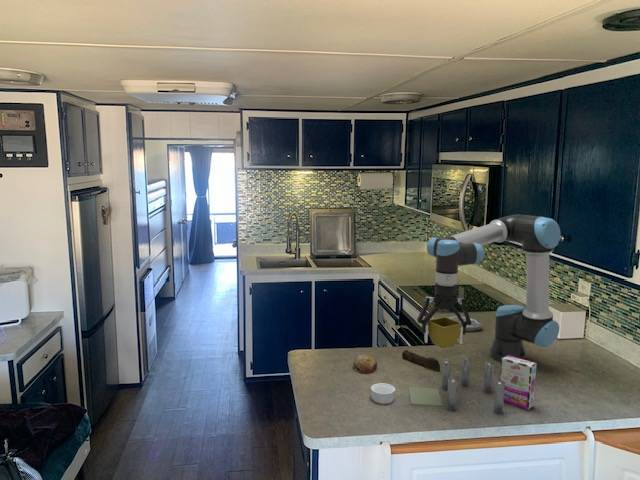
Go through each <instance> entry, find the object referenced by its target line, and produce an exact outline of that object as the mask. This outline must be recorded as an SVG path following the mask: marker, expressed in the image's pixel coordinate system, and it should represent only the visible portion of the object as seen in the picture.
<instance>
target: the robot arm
mask: <svg viewBox="0 0 640 480" xmlns="http://www.w3.org/2000/svg"><path fill="white" fill-rule="evenodd" d="M560 240H561V228H560V226H559V224H558V222H556V221H555V220H554V219H553V218H550V217H546V216H537V215H527V214H512V215H507V216H502V217H499V218H497V219H494V220H491V221H490V222H489V224H486V225H481V226H479V227H475V228H472V229H469V230H466V231H463V232H459V233H456V234H453V235H449V236H446V237H443V238H442V237H441V238H440V237H431V238H430V239H429V240H428V241H427V244H426V252H427V254H428V255H429V256H431V257H434V258H436V260H435V262H436V263H435V284H434V285H435V286H434V296H433V297H432V296H429V295H426V296H425V297H424V298H425V299H424V300H425V301H424V304H423V306H422V308H421V310H420V313H419V314H418V317H417V318H416V320H417V323H418V324H421V332H422V334H424V343H425V344H427V343H428V340H429V339H428V338H429V337H428V336H429V332H428V323H427V322H428V321H429V320H431V319H433V318H432V317H434V315H435V314H436V313H437V312H438V311H439V310H448V311H449V310H452V311H453V313H454V315H455V316H457V317H458V319H459V320H460V322H461V323H462V324H461V329H460V334H459V337H458V344H459V345H463V337H464V336H465V335H466V332H467V331H466V326H467V325H471V324H472V323H471V320H470V318H471V317H470V314H469V312H468V309H467V306H466V299H465V297H463V296H461V297H457V293H458V292H457V290H458V285H457V283H458V271H459V267H460V266H461V267H462V266H468V265H476V264H479V263H481V262H482V261H483V259H484V257H485V250H484V248H483V246H486V245H489V244H492V243H495V242H496V243H503V242H513V243H518V244H521V251H522V252H523V253H525V256H526V257H525V259H526V260H525V263H526V265H525V266H526V267H525V269H526V270H525V271H526V273H525V274H526V275H525V276H526V277H525V278H526V279H525V280H526V281H525V282H526V283H525V284H526V285H525V289H526V294H525V296H526V301H525V302H526V303H525V305H526V306H522V305H516V304H506V305H500V306H499V307H497V309H496V315H495V328H494V339H493V341H492V343H491V346H490V349H489V356H490V357H491V358H492V359H494V360H496V361H499V362H501V361H502V358H503V357H505V356H507V355H509V356H513V357H516V358H520V359H523V360H526V358H527V353H526V348H525V346H524V342H527V343H530V344H533V345H535V346H539V347H542V348H546V347H547V348H548V347H550V346H552V345H553V343H554V342H555V341H556V340H557V338H558V336H559V332H560V324H559V323H558V322H557V321H556V320H554V312H552V311H551V310H550V254H551V253H553V251H554V249H555V247H557V246H558V245H559V243H560V242H559V241H560ZM432 302H434V303H435V304H434V305H433V306H432V308H431V309H430V311H429V312H428V313H427V310H428V308H429V306H430V304H431V303H432ZM457 303H458V304H459V305H460V306H461V309H462V312H463V315H464V317H465V318H466V321H464V320H463V318H462V317H463V316H462V315H461V314H460V312H459V311H458V309H457V308H456V307H455V305H456V304H457ZM426 313H427V314H426ZM424 316H425V317H424ZM461 316H462V317H461Z"/></svg>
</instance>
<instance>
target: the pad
mask: <svg viewBox="0 0 640 480" xmlns="http://www.w3.org/2000/svg"><path fill="white" fill-rule="evenodd" d="M408 393H409V401H410V405H411V406H423V407H424V406H425V407H426V406H427V407H443V403H442V400H441V396H440V395H441V394H440V393H439V388H428V387H411V386H410V387H408Z"/></svg>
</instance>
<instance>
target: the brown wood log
mask: <svg viewBox="0 0 640 480" xmlns="http://www.w3.org/2000/svg"><path fill="white" fill-rule="evenodd" d="M401 356H402V359H405V360H408V361H411V362H414V363H416V364H419V365H423V366H424V367H426V368H427V370H432V371H436V372H437V371H438V372H440V371H441V365H440V362H439V360H438V359H435V358H433V357H431V356H430V357H425V356H422V355H420V354H417V353H414V352H412V351H409V350H408V349H405V350H403V351H402V353H401Z"/></svg>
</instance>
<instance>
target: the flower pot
mask: <svg viewBox="0 0 640 480" xmlns="http://www.w3.org/2000/svg"><path fill="white" fill-rule="evenodd" d="M447 317H448V316H442V317H438V318H431V319H430V320H429V321H428V322H427V324H428V336H429V338H430V340H431V342H432V344H433V345H435V346H436V347H439V348H441V349H446V348H450V347H453V346H455V344H456V343H457V342H458V341H459V334H460V329H461V323H459V322H457V321H454V320H452V319H450V318H447Z"/></svg>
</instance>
